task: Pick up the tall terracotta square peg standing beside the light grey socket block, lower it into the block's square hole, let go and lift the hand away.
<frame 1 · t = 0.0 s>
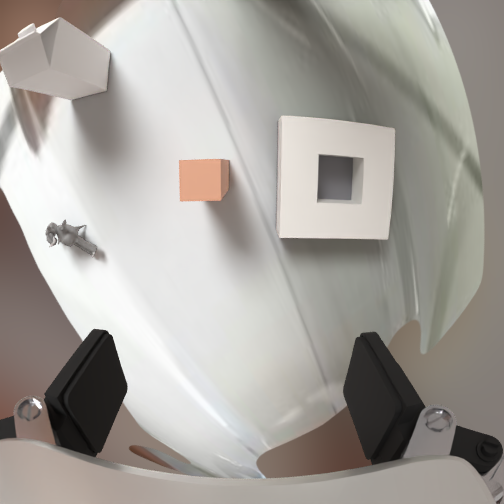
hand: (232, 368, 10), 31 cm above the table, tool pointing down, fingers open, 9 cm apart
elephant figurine: (80, 230, 40), on the table
milk carton: (90, 75, 33), on the table
socket block: (330, 177, 38), on the table
peg: (214, 174, 38), on the table
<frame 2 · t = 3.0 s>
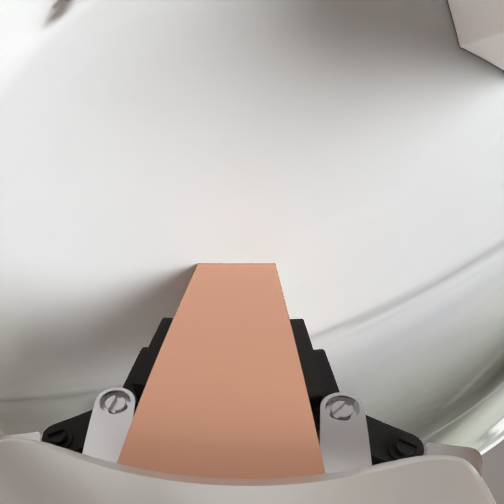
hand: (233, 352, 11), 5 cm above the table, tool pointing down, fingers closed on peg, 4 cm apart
milk carton: (480, 26, 10), on the table
peg: (237, 298, 16), on the table, touching gripper
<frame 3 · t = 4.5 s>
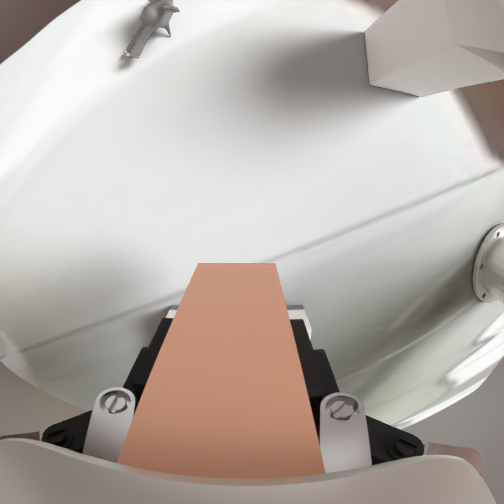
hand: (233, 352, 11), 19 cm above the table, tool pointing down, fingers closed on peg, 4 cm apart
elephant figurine: (164, 29, 22), on the table
milk carton: (393, 64, 24), on the table
socket block: (237, 358, 34), on the table
peg: (237, 297, 16), point 15 cm above the table, touching gripper
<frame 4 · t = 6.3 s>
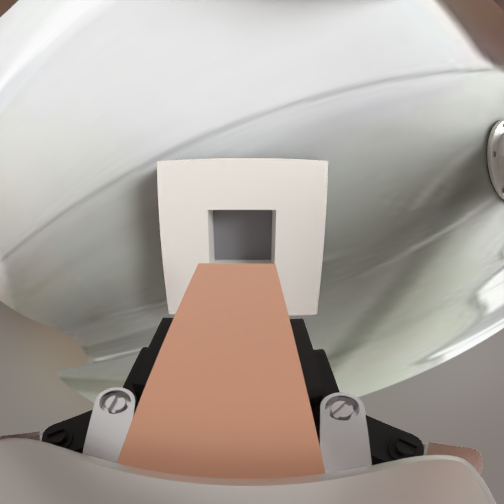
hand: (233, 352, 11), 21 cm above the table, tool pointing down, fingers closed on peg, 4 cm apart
socket block: (242, 229, 31), on the table
peg: (237, 298, 16), point 16 cm above the table, touching gripper
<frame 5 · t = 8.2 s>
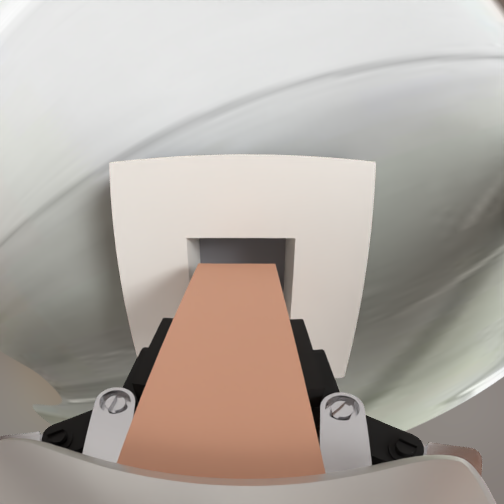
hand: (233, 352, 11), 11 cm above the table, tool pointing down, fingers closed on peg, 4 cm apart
socket block: (242, 259, 21), on the table
peg: (237, 298, 16), point 6 cm above the table, touching gripper
when the fingers open (8 cm above the table, at t = 9.8 s): peg drops 2 cm, resting on socket block.
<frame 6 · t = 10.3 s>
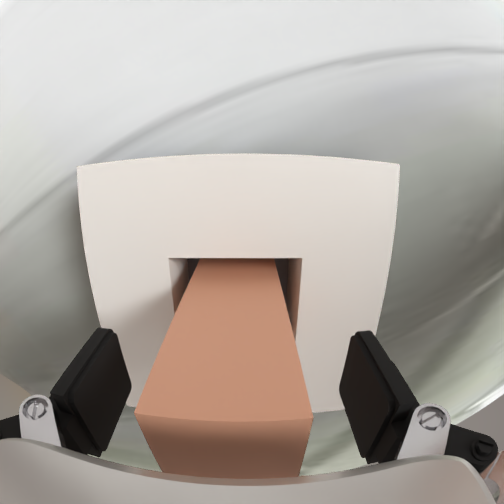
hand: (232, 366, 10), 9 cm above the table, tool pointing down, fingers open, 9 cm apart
socket block: (238, 277, 18), on the table
peg: (238, 282, 17), point 1 cm above the table, touching socket block
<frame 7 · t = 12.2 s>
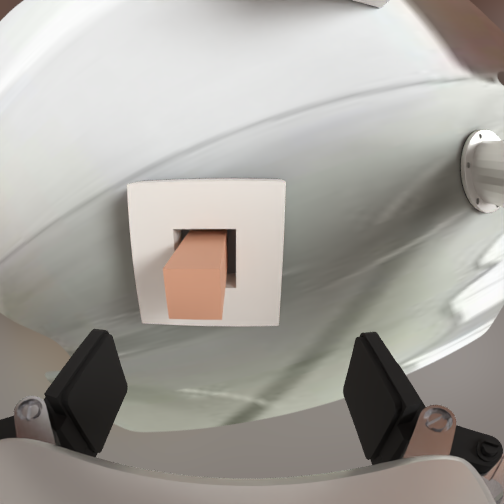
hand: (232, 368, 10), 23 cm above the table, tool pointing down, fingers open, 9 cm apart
socket block: (210, 245, 32), on the table
peg: (209, 247, 31), point 1 cm above the table, touching socket block
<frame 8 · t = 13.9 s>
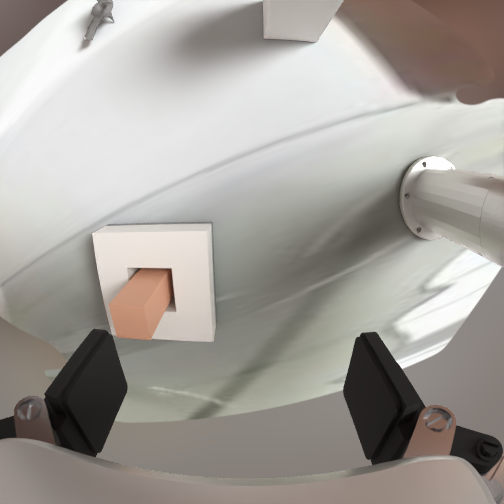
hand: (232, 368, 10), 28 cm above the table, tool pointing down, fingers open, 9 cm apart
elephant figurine: (110, 18, 27), on the table
milk carton: (289, 20, 29), on the table
socket block: (161, 275, 39), on the table
peg: (160, 277, 38), point 1 cm above the table, touching socket block
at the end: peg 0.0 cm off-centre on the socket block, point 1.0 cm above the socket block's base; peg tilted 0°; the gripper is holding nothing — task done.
